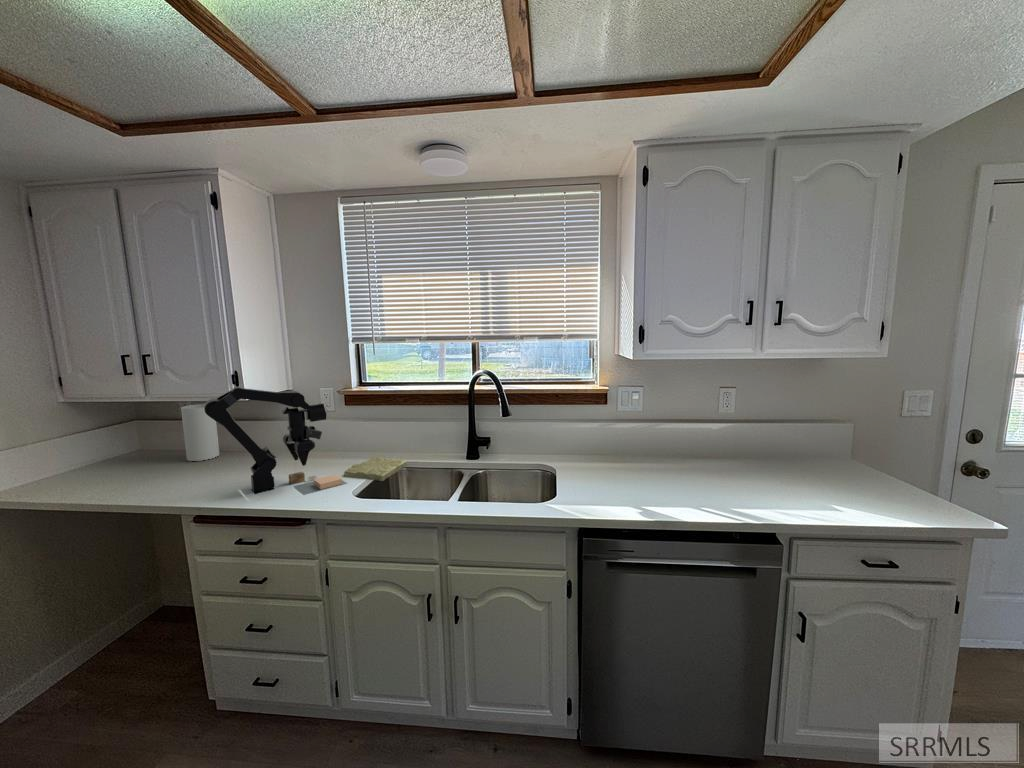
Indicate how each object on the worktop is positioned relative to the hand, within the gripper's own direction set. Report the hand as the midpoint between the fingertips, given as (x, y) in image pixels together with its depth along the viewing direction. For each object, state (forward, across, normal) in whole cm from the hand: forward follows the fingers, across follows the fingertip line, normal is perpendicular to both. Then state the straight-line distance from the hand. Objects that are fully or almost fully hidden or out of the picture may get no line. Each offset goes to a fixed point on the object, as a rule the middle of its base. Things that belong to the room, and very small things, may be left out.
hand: (300, 462), depth 162 cm
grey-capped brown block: (+8, 0, -1) cm, 8 cm away
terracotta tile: (+6, -12, -2) cm, 13 cm away
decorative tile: (+9, -8, -27) cm, 29 cm away
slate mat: (+8, -10, -4) cm, 13 cm away
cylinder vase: (+8, +68, +22) cm, 72 cm away
